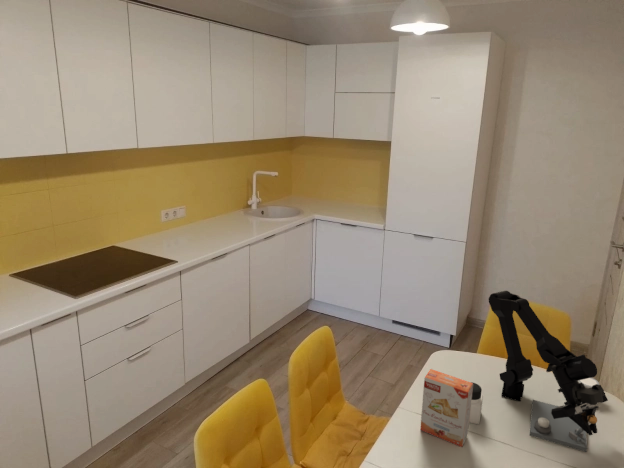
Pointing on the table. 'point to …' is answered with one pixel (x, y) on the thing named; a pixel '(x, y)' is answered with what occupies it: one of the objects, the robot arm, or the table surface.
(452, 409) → the cracker box
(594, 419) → the toggle lever
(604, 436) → the table surface
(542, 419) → the push button
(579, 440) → the switch panel
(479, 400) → the medicine bottle
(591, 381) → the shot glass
